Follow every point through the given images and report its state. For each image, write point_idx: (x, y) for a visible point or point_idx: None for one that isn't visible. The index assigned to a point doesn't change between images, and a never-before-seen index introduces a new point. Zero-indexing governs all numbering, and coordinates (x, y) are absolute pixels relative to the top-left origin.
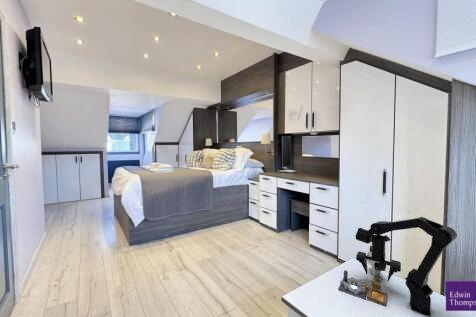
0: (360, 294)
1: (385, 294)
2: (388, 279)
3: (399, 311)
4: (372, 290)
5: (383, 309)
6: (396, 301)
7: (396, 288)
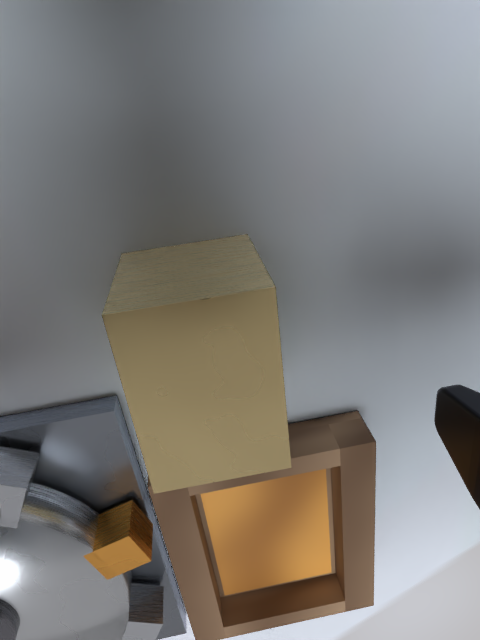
0: None
1: (353, 493)
2: (475, 474)
3: (461, 544)
4: None
5: None
6: None
7: (471, 87)
